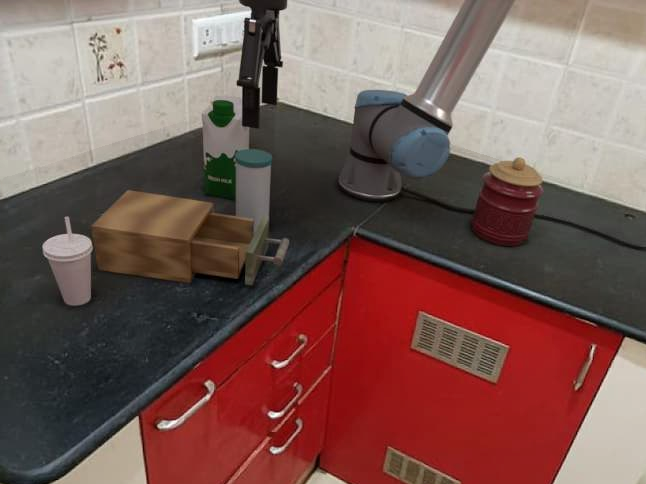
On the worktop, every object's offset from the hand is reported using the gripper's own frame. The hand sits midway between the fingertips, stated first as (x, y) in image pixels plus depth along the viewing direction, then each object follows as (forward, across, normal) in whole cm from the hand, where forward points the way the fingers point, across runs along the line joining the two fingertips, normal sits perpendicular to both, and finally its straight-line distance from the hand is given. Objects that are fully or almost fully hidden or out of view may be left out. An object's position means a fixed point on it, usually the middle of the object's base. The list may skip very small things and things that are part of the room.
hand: (260, 114), depth 98 cm
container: (+23, -1, -1) cm, 23 cm away
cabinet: (+23, +14, -14) cm, 30 cm away
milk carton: (+23, -15, -10) cm, 29 cm away
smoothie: (+23, +30, -21) cm, 43 cm away
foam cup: (+23, -37, -16) cm, 46 cm away
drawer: (+22, +14, -1) cm, 26 cm away
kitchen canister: (+24, -16, +51) cm, 58 cm away
